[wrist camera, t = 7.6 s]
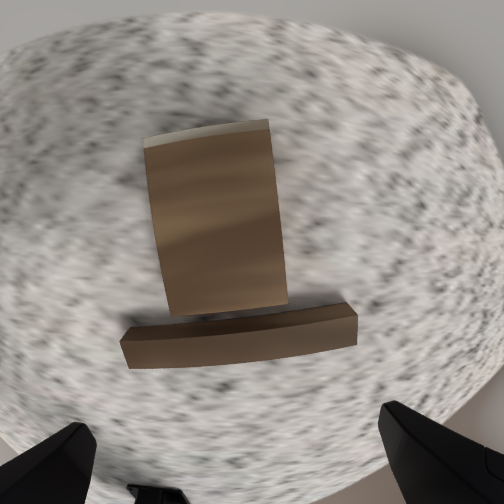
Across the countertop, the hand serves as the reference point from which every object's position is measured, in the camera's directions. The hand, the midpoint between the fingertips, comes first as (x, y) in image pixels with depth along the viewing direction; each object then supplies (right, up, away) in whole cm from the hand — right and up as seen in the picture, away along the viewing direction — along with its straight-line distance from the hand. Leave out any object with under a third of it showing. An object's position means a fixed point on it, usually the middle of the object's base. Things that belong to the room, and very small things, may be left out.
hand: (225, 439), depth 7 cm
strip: (0, 0, +11) cm, 11 cm away
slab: (0, +3, +9) cm, 9 cm away
